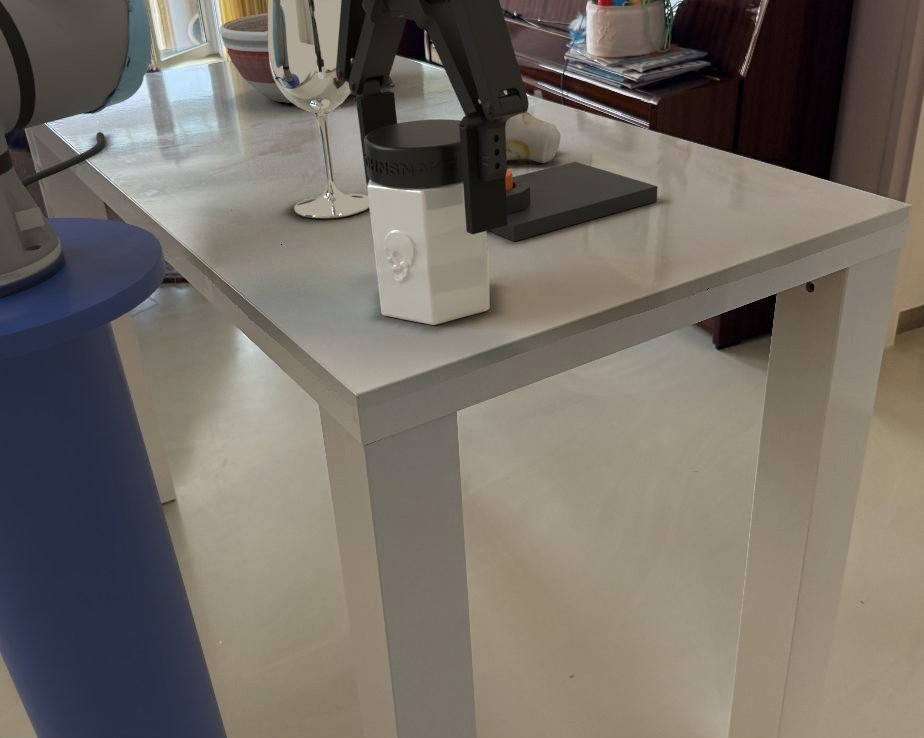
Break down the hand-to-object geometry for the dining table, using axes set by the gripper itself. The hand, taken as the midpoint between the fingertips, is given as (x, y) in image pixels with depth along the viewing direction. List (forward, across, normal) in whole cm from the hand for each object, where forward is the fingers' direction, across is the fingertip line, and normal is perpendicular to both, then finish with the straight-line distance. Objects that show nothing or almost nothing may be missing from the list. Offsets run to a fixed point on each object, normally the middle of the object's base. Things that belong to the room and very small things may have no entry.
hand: (432, 207), depth 68 cm
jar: (+7, 0, 0) cm, 7 cm away
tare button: (+4, +13, -14) cm, 20 cm away
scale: (+7, +13, -20) cm, 25 cm away
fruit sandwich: (+7, +28, -27) cm, 40 cm away
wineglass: (+7, +27, -5) cm, 29 cm away
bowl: (+6, +77, -27) cm, 82 cm away
